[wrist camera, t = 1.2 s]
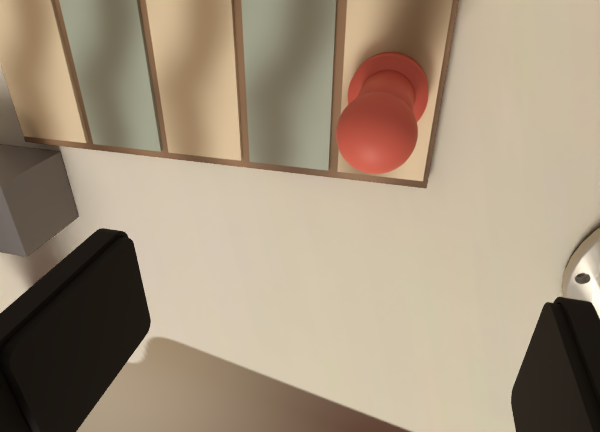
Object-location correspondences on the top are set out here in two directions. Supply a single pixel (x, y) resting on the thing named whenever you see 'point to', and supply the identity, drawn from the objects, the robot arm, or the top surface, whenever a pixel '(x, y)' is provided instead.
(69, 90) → the board
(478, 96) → the top surface
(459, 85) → the top surface
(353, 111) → the pawn
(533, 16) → the top surface
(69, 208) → the die
